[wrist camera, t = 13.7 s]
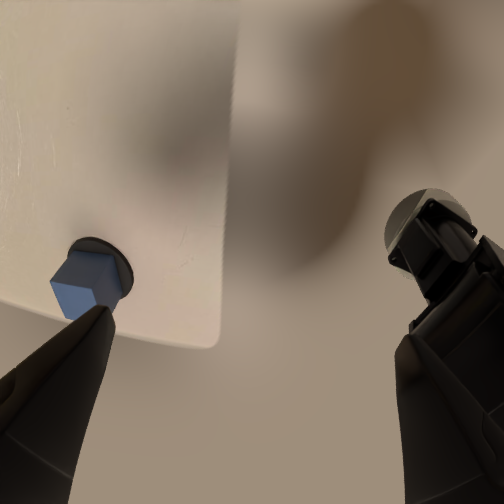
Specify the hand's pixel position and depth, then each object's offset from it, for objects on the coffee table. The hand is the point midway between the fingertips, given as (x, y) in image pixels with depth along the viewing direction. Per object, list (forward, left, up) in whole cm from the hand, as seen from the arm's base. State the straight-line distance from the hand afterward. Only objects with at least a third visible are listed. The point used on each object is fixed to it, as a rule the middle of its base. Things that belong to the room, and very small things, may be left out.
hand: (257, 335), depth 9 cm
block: (+10, +12, -12) cm, 20 cm away
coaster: (+10, +12, -12) cm, 20 cm away
